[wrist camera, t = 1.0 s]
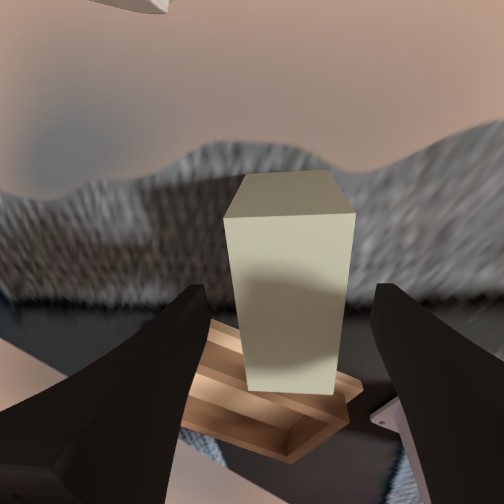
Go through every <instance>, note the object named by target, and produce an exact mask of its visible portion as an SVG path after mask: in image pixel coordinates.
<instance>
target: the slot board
mask: <svg viewBox="0 0 504 504" xmlns="http://www.w3.org/2000/svg"><path fill="white" fill-rule="evenodd" d="M362 391H363V387H362V383H361V380H358V379H356V378H353V377H351V376H349V375H346V374H344V373H341V372H339V371H337V370H336V377H335V385H334V393H333V395H323V394H303V393H284V392H264V391H248V385H247V378H246V371H245V364H244V358H243V351H242V344H241V337H240V330H238V329H235V328H233V327H231V326H228V325H226V324H223V323H221V322H219V321H216V320H214V319H211V323H210V328H209V333H208V338H207V342H206V345H205V348H204V351H203V354H202V357H201V359H200V362H199V365H198V368H197V371H196V374H195V377H194V380H193V382H192V385H191V388H190V391H189V395H188V398H187V401H186V405H185V410H184V414H183V418H182V422H181V426H182V427H185V428H188V429H191V430H193V431H196V432H199V433H202V434H205V435H208V436H211V437H214V438H216V439H219V440H222V441H225V442H228V443H231V444H234V445H237V446H239V447H242V448H245V449H248V450H251V451H254V452H257V453H260V454H262V455H265V456H268V457H271V458H274V459H277V460H280V461H283V462H285V463H288V464H293V463H294V462H295V461H297V460H298V459H300V458H301V457H302V456H304V455H305V454H307V453H308V452H309V451H311V450H312V449H314V448H315V447H317V446H318V445H319V444H321V443H322V442H324V441H325V440H326V439H328V438H329V437H331V436H332V435H333V434H335V433H336V432H338V431H339V430H340V429H342V428H343V427H345V426H346V425H347V424H349V423H350V419H349V415H348V410H347V405H346V404H347V403H348V402H349V401H351V400H352V399H353V398H354V397H356V396H357V395H358V394H360V393H361V392H362Z"/></svg>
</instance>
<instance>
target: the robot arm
mask: <svg viewBox="0 0 504 504" xmlns="http://www.w3.org/2000/svg"><path fill="white" fill-rule="evenodd" d="M210 323H211V315H210V311H209V306H208V302H207V297H206V292H205V288H204V285H189V286H188V287H187V288H186V289H185V290H184V291H183V292H182V293H181V294H180V295H179V296H178V297H176V298H175V299H174V300H173V301H172V302H171V303H170V304H169V305H168V306H167V307H166V308H165V309H163V310H162V311H161V312H160V313H159V314H158V315H157V316H156V317H154V318H153V319H152V320H151V321H150V322H148V323H147V324H146V325H145V326H144V327H143V328H141V329H140V330H139V331H138V332H136V333H135V334H134V335H133V336H131V337H130V338H129V339H127V340H126V341H125V342H123V343H122V344H120V345H119V346H118V347H116V348H115V349H113V350H112V351H110V352H109V353H107V354H106V355H104V356H103V357H101V358H100V359H98V360H96V361H95V362H93V363H92V364H90V365H88V366H87V367H85V368H84V369H82V370H80V371H79V372H77V373H75V374H73V375H72V376H70V377H68V378H66V379H65V380H63V381H61V382H59V383H57V384H55V385H54V386H52V387H50V388H48V389H46V390H44V391H42V392H40V393H38V394H36V395H34V396H32V397H30V398H28V399H26V400H24V401H22V402H20V403H18V404H16V405H13V406H11V407H9V408H7V409H5V410H3V411H1V412H0V504H165V498H166V492H167V487H168V482H169V477H170V472H171V467H172V463H173V457H174V453H175V447H176V444H177V439H178V435H179V430H180V426H181V422H182V418H183V414H184V410H185V405H186V401H187V398H188V395H189V391H190V388H191V385H192V382H193V380H194V377H195V374H196V371H197V368H198V365H199V362H200V359H201V357H202V354H203V351H204V348H205V345H206V342H207V338H208V333H209V328H210ZM370 324H371V328H372V332H373V336H374V339H375V342H376V345H377V348H378V350H379V353H380V355H381V357H382V360H383V362H384V365H385V367H386V369H387V372H388V374H389V376H390V379H391V381H392V383H393V386H394V388H395V390H396V393H397V395H398V396H397V397H395V398H394V399H392V400H391V401H390V402H388V403H387V404H385V405H384V406H382V407H381V408H379V409H378V410H377V411H375V412H374V413H372V414H371V415H370V420H371V422H372V423H374V424H377V425H379V426H382V427H385V428H387V429H390V430H392V431H395V432H397V433H399V434H400V437H401V440H402V443H403V445H404V448H405V451H406V454H407V457H408V459H409V462H410V465H411V468H412V471H413V474H414V476H415V479H416V482H417V485H418V488H419V490H420V493H421V496H422V499H423V502H424V504H504V361H502V360H500V359H499V358H497V357H495V356H494V355H492V354H490V353H489V352H487V351H485V350H484V349H482V348H481V347H479V346H478V345H476V344H474V343H473V342H471V341H470V340H468V339H467V338H465V337H464V336H463V335H461V334H460V333H458V332H457V331H455V330H454V329H452V328H451V327H450V326H448V325H447V324H445V323H444V322H443V321H441V320H440V319H439V318H437V317H436V316H435V315H433V314H432V313H431V312H429V311H428V310H427V309H425V308H424V307H423V306H422V305H420V304H419V303H418V302H417V301H415V300H414V299H413V298H411V297H410V296H409V295H408V294H406V293H405V292H404V291H403V290H401V289H400V288H399V287H397V286H396V285H395V284H393V283H378V284H377V286H376V291H375V296H374V301H373V306H372V311H371V316H370Z"/></svg>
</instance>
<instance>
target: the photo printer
mask: <svg viewBox="0 0 504 504" xmlns="http://www.w3.org/2000/svg"><path fill="white" fill-rule="evenodd" d="M90 1H94V2H98V3H102V4H106V5H110V6H114V7H118V8H122V9H126V10H130V11H135V12H141V13H148V14H166V13H168V6H169V3H170V2H172V1H173V0H90Z"/></svg>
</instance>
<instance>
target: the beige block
mask: <svg viewBox="0 0 504 504" xmlns="http://www.w3.org/2000/svg"><path fill="white" fill-rule="evenodd" d="M355 218H356V212H355V211H354V209H353V208H352V206H351V205H350V204H349V202H348V201H347V199H346V198H345V196H344V195H343V193H342V192H341V190H340V189H339V187H338V186H337V184H336V183H335V181H334V180H333V178H332V177H331V175H330V174H329V172H328V171H327V169H323V170H306V171H290V172H273V173H256V174H246V175H245V177H244V179H243V181H242V183H241V185H240V187H239V189H238V191H237V193H236V195H235V196H234V198H233V200H232V202H231V204H230V206H229V208H228V210H227V212H226V214H225V216H224V218H223V220H224V227H225V234H226V241H227V248H228V255H229V262H230V268H231V275H232V282H233V289H234V296H235V303H236V310H237V316H238V323H239V330H240V337H241V344H242V351H243V358H244V364H245V371H246V378H247V385H248V391H264V392H284V393H303V394H323V395H333V393H334V385H335V377H336V369H337V361H338V353H339V345H340V337H341V329H342V321H343V313H344V305H345V297H346V289H347V281H348V274H349V266H350V258H351V250H352V242H353V234H354V226H355Z"/></svg>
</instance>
